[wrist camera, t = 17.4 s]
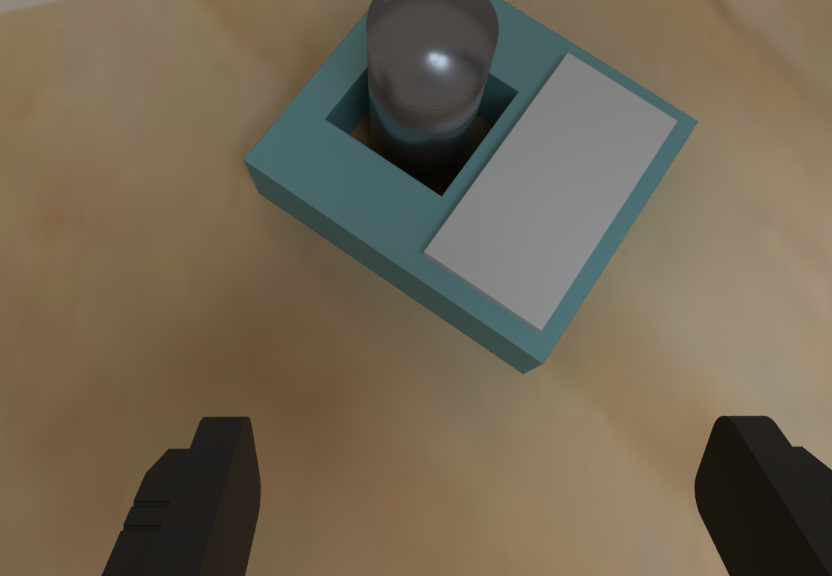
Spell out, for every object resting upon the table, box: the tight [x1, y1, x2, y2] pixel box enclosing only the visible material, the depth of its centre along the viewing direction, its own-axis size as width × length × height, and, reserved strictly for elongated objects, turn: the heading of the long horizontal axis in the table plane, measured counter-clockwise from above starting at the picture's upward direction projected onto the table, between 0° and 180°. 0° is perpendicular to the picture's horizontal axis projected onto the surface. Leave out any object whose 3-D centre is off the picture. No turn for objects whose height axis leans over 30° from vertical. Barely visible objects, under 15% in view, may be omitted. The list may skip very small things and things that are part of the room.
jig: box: [243, 0, 698, 374], centre depth 31 cm, size 16×14×5 cm
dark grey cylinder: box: [366, 0, 499, 189], centre depth 29 cm, size 5×5×10 cm
